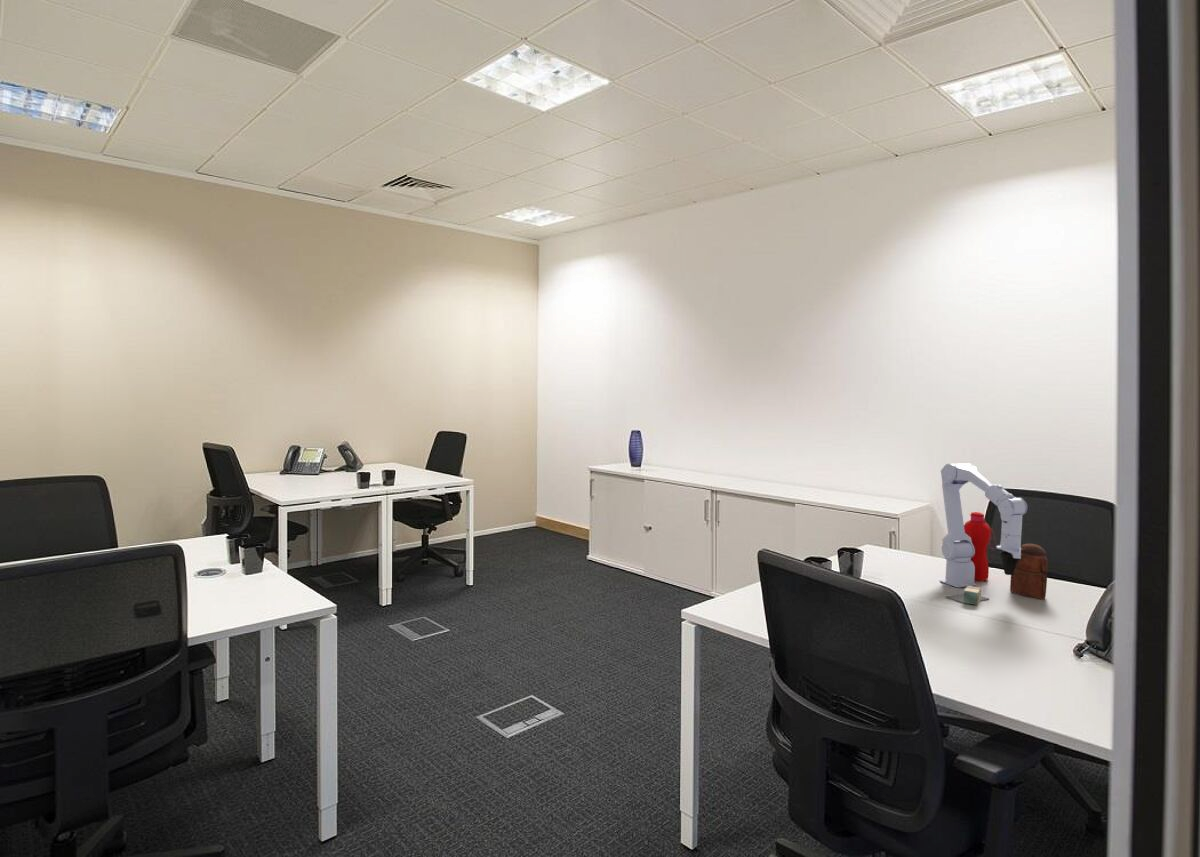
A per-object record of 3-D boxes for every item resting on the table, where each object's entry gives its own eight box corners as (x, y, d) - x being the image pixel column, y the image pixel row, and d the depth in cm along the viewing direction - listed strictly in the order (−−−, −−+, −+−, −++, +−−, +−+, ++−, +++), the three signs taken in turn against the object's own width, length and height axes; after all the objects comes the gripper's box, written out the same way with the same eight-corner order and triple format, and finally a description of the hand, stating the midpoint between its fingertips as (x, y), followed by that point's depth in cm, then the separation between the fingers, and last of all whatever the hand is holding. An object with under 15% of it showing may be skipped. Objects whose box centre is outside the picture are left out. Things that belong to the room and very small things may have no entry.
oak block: (967, 585, 230) (964, 590, 225) (981, 587, 228) (977, 592, 222) (967, 597, 231) (963, 602, 225) (980, 599, 228) (977, 604, 223)
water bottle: (993, 584, 247) (997, 516, 245) (959, 579, 253) (962, 513, 251) (993, 578, 255) (997, 512, 253) (961, 573, 260) (964, 509, 259)
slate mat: (970, 593, 236) (970, 592, 236) (989, 599, 229) (989, 598, 229) (945, 597, 231) (945, 596, 231) (963, 603, 225) (963, 602, 225)
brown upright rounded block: (1050, 597, 233) (1054, 546, 231) (1044, 601, 229) (1047, 548, 227) (1013, 588, 242) (1016, 539, 241) (1005, 592, 238) (1008, 541, 237)
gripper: (991, 528, 232) (989, 567, 233) (1004, 538, 218) (1002, 579, 219) (1014, 530, 230) (1012, 569, 231) (1029, 539, 216) (1026, 581, 217)
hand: (1008, 574), depth 225 cm, fingers closed
